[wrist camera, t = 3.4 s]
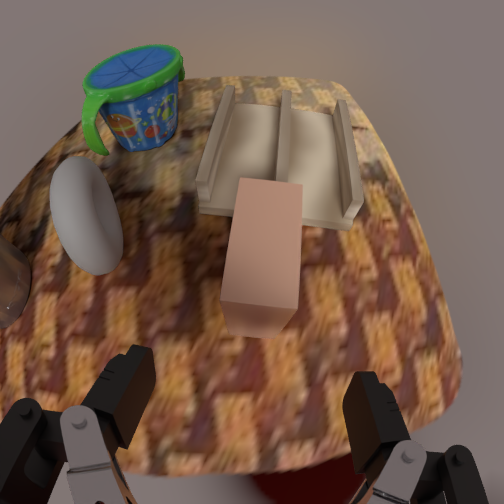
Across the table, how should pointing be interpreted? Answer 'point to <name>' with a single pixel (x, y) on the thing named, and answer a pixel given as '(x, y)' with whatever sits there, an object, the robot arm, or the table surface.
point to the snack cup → (134, 97)
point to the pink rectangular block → (263, 258)
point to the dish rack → (282, 158)
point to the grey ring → (86, 216)
